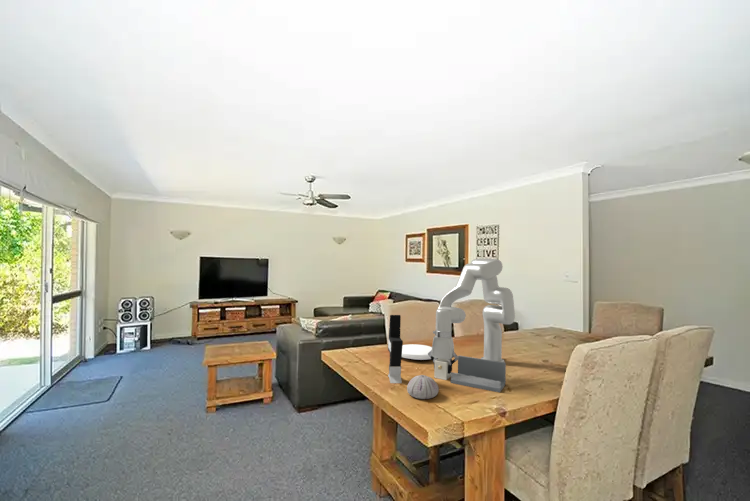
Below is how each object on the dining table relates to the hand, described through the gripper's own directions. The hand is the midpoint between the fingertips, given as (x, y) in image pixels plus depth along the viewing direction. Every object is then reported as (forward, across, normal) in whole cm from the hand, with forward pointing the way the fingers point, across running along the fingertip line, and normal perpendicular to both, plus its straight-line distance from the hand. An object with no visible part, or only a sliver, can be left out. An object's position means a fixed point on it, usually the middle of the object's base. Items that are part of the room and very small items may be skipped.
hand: (442, 371), depth 177 cm
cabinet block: (+3, 0, 0) cm, 3 cm away
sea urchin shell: (+3, +1, -27) cm, 27 cm away
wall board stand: (+3, +17, 0) cm, 17 cm away
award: (+3, -18, -16) cm, 24 cm away
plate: (+3, -26, +27) cm, 38 cm away
